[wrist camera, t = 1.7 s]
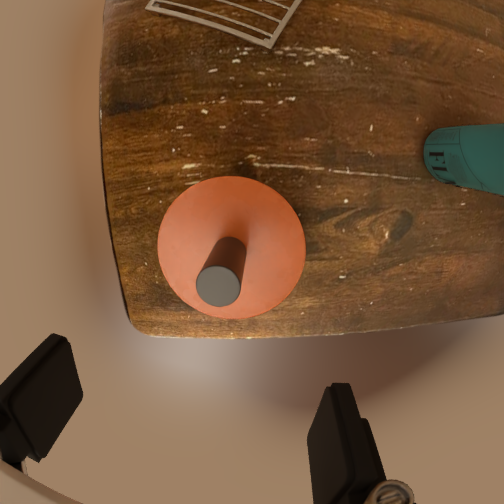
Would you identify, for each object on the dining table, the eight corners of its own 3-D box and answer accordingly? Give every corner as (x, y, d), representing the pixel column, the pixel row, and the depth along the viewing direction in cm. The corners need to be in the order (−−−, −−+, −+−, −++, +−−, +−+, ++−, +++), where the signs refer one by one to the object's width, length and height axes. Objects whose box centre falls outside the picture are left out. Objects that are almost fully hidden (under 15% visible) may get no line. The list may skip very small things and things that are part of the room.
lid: (160, 302, 28) (129, 350, 20) (165, 168, 24) (124, 174, 17) (291, 320, 28) (299, 375, 20) (314, 185, 24) (338, 198, 17)
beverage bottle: (405, 147, 28) (546, 151, 9) (440, 116, 27) (575, 103, 8) (434, 194, 30) (568, 240, 11) (466, 162, 28) (597, 184, 9)
